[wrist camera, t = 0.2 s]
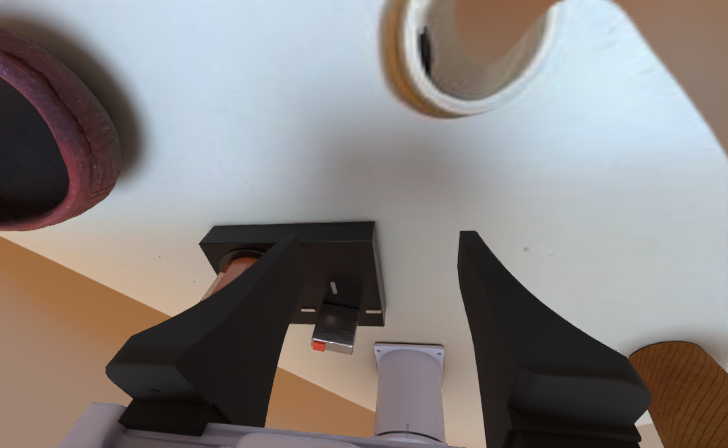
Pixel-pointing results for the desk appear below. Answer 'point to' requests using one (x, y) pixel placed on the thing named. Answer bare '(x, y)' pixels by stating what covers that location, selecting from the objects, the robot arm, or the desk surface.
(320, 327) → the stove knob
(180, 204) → the desk surface
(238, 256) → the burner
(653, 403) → the disposable coffee cup
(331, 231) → the stove
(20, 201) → the bowl
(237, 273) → the small cup
